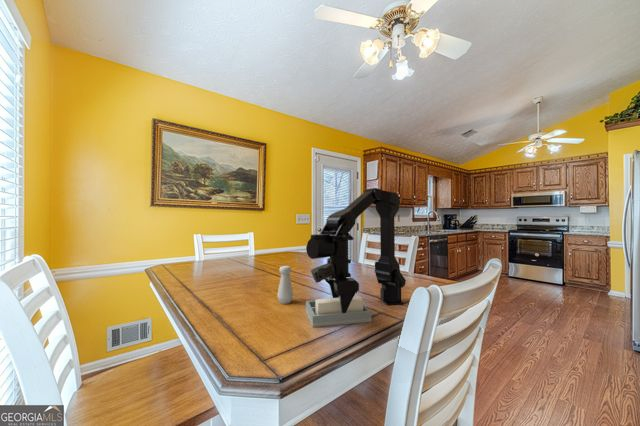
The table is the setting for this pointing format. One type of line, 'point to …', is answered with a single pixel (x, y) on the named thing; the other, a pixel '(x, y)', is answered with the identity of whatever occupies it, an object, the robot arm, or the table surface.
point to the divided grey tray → (337, 316)
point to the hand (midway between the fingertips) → (339, 307)
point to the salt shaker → (285, 286)
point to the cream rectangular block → (337, 305)
